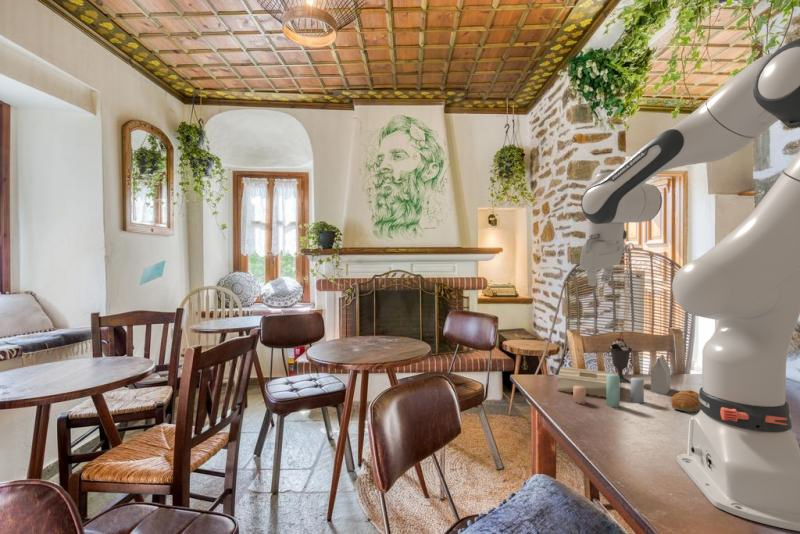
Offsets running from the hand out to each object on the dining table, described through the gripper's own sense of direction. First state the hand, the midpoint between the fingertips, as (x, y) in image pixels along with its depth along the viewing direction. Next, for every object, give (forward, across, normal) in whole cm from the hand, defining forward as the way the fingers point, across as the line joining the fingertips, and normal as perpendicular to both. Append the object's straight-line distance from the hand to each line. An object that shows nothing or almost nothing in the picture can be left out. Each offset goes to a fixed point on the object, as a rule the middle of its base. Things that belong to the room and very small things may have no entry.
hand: (599, 283), depth 106 cm
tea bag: (+32, +17, -14) cm, 39 cm away
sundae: (+34, +19, -2) cm, 39 cm away
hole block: (+33, +4, +2) cm, 33 cm away
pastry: (+30, +7, -22) cm, 38 cm away
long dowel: (+31, -5, -8) cm, 32 cm away
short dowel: (+31, -9, -1) cm, 33 cm away
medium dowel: (+31, +3, -12) cm, 33 cm away
